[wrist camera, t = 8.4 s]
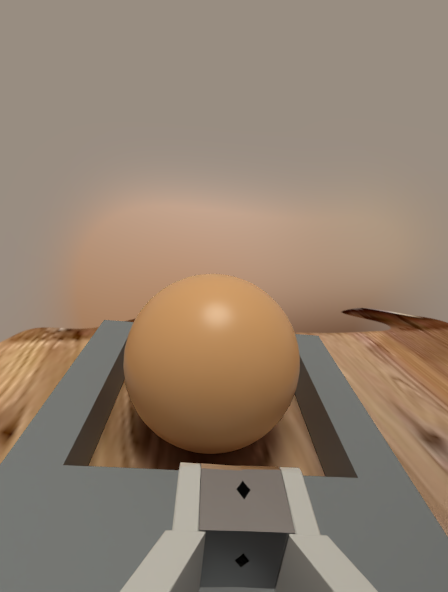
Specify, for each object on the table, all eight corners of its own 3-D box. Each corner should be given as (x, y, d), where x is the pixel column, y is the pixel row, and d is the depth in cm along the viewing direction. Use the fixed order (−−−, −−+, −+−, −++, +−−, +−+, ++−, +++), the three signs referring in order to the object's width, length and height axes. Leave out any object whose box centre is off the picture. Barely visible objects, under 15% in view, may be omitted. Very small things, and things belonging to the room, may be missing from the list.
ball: (224, 379, 11) (199, 540, 15) (355, 296, 17) (309, 426, 22) (82, 269, 16) (95, 410, 21) (221, 238, 23) (207, 351, 28)
